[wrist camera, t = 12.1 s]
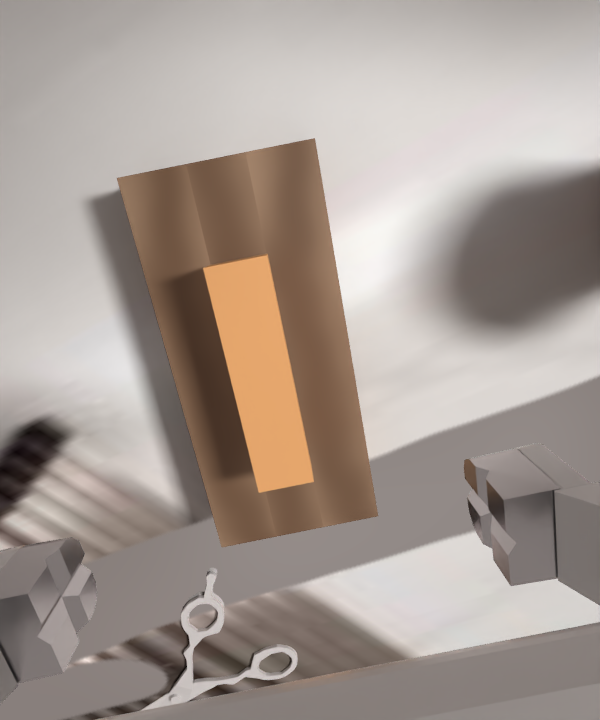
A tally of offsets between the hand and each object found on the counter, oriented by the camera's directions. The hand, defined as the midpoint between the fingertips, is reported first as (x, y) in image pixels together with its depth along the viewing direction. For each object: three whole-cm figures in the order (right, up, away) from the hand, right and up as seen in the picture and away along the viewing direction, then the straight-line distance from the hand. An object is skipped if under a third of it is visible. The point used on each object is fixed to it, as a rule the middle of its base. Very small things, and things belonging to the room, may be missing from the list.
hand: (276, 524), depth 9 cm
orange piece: (-2, +4, +19) cm, 19 cm away
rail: (-2, +4, +19) cm, 19 cm away
